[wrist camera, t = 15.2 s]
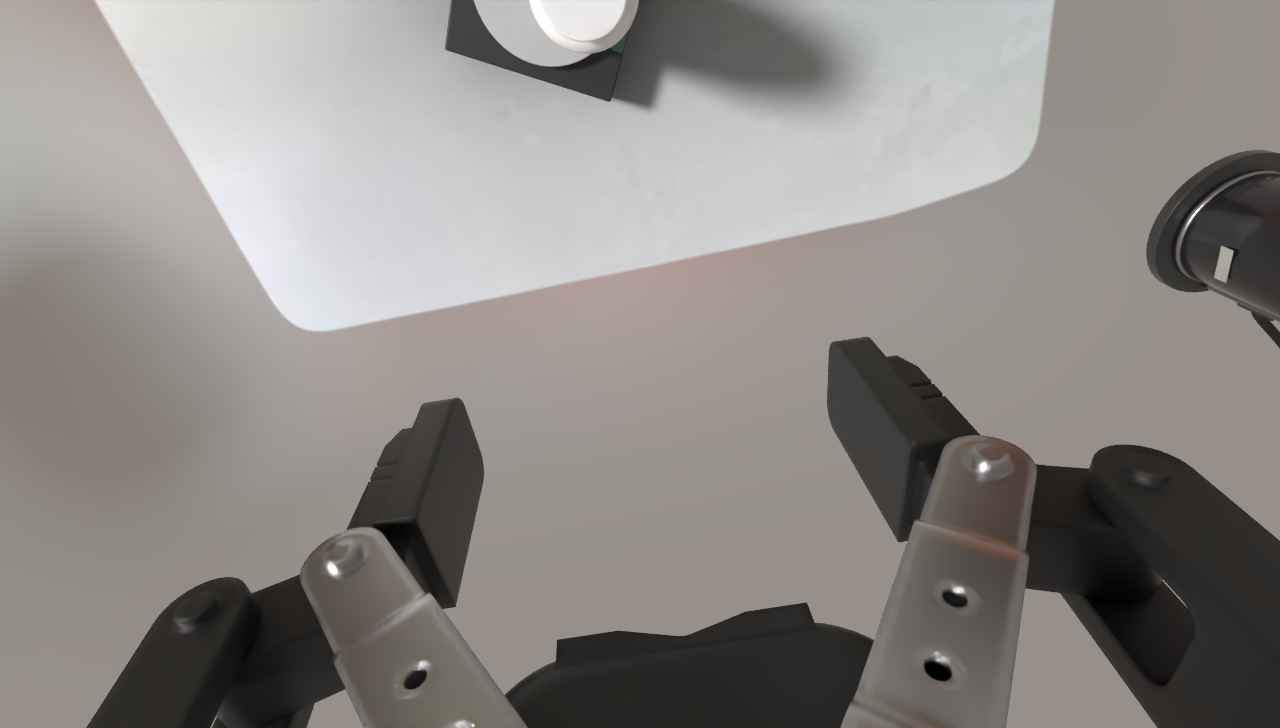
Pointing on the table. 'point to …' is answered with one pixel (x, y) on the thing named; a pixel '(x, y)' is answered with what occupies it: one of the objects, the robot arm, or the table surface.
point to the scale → (528, 46)
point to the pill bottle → (585, 22)
